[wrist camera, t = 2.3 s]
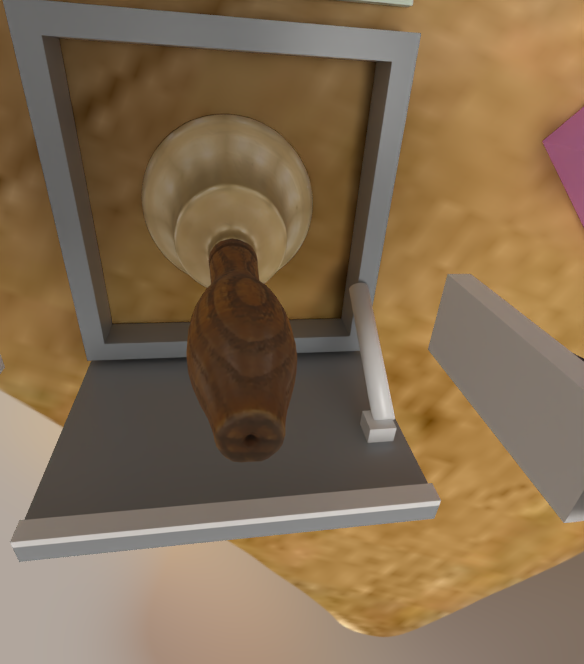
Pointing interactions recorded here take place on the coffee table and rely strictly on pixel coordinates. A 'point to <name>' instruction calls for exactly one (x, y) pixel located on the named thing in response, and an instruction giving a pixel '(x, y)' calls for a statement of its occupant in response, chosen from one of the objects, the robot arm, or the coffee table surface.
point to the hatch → (171, 338)
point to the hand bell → (233, 268)
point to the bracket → (570, 158)
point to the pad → (385, 2)
